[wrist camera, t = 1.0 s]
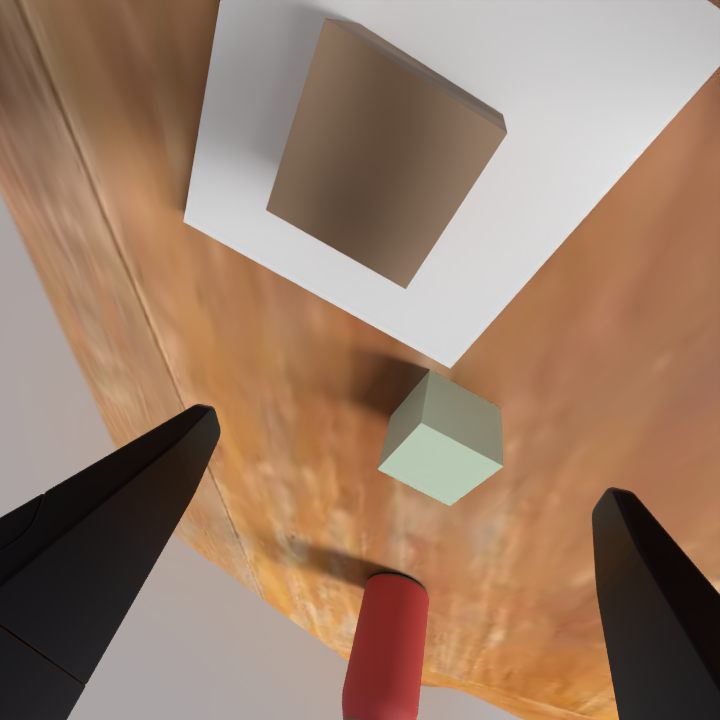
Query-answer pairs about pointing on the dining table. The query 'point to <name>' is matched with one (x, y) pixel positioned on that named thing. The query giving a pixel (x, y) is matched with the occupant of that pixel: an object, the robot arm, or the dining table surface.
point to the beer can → (387, 651)
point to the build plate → (502, 173)
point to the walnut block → (380, 152)
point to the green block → (443, 440)
